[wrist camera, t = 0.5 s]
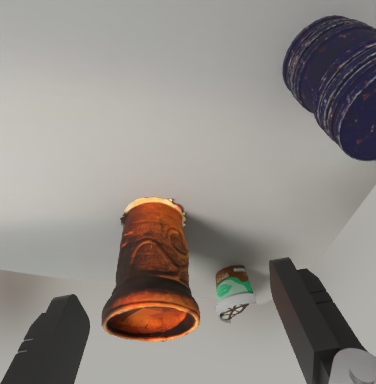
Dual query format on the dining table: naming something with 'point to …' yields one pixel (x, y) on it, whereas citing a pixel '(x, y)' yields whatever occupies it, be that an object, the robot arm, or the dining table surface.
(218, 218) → the dining table surface
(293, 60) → the storage jar
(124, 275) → the vessel
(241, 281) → the food container
